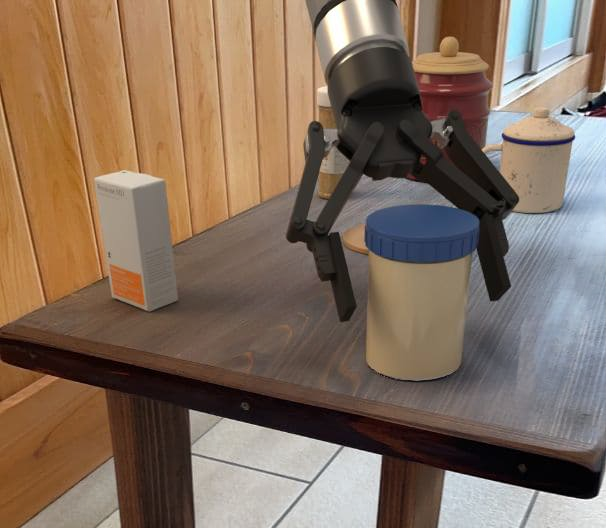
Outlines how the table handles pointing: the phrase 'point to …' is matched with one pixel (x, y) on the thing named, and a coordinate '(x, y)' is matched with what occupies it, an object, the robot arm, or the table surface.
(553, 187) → the teacup with lid
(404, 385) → the table surface
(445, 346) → the jar
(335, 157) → the brown spice bottle
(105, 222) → the cosmetic box
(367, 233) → the lid
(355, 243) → the coaster
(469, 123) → the kitchen canister
